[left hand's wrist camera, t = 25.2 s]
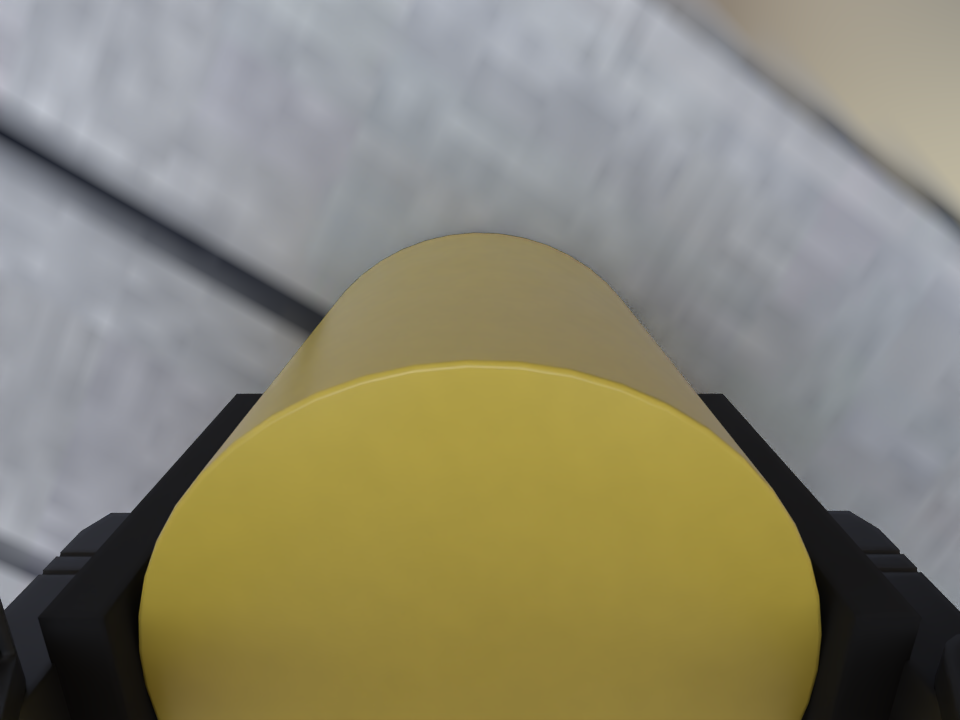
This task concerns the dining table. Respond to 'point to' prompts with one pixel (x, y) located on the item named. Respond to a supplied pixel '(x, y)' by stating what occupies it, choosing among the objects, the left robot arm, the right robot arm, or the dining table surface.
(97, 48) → the dining table surface
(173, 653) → the canister
